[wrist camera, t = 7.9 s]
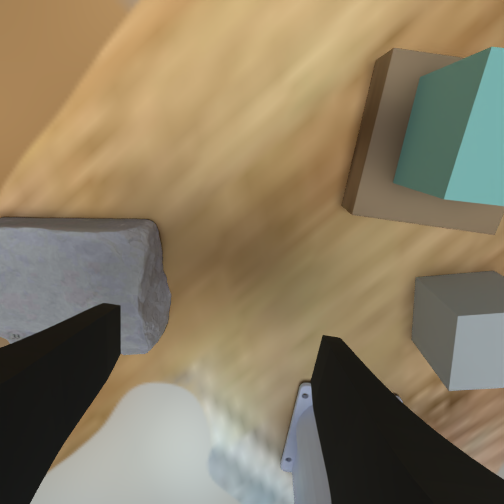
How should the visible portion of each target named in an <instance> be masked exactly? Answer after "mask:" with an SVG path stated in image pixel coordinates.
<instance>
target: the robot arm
mask: <svg viewBox="0 0 504 504" xmlns="http://www.w3.org/2000/svg"><path fill="white" fill-rule="evenodd" d="M120 354H121V305H115V304H109V303H102V304H99V305H97V306H94V307H92V308H90V309H88V310H85V311H83V312H81V313H79V314H77V315H75V316H73V317H71V318H68V319H66V320H64V321H62V322H60V323H58V324H56V325H53V326H51V327H49V328H47V329H45V330H42V331H40V332H38V333H35V334H33V335H31V336H28V337H26V338H24V339H21V340H19V341H16V342H14V343H12V344H9V345H7V346H4V347H1V348H0V504H30V502H31V501H32V499H33V497H34V495H35V493H36V491H37V489H38V488H39V486H40V484H41V482H42V480H43V479H44V477H45V475H46V473H47V471H48V470H49V468H50V466H51V464H52V463H53V461H54V459H55V457H56V455H57V454H58V452H59V451H60V449H61V447H62V446H63V444H64V443H65V441H66V440H67V438H68V437H69V435H70V434H71V432H72V431H73V429H74V428H75V426H76V425H77V423H78V422H79V421H80V419H81V418H82V416H83V415H84V413H85V412H86V410H87V409H88V407H89V406H90V405H91V403H92V402H93V400H94V399H95V397H96V396H97V394H98V393H99V391H100V390H101V388H102V387H103V385H104V384H105V382H106V381H107V379H108V377H109V376H110V374H111V372H112V370H113V368H114V366H115V364H116V362H117V360H118V358H119V356H120ZM304 393H306V395H303V394H304ZM281 469H282V470H283V471H286V472H292V477H293V490H294V503H295V504H504V479H502V478H501V477H499V476H498V475H496V474H494V473H493V472H491V471H490V470H488V469H487V468H486V467H484V466H483V465H481V464H480V463H478V462H477V461H475V460H474V459H472V458H471V457H470V456H468V455H467V454H466V453H464V452H463V451H461V450H460V449H459V448H457V447H456V446H455V445H453V444H452V443H451V442H449V441H448V440H446V439H445V438H444V437H443V436H441V435H440V434H439V433H437V432H436V431H435V430H434V429H432V428H431V427H430V426H429V425H428V424H426V423H425V422H424V421H423V420H422V419H421V418H419V417H418V416H417V415H416V414H415V413H413V412H412V411H411V410H410V409H409V408H408V407H407V406H405V405H404V404H403V402H402V400H401V398H400V397H399V396H395V395H394V394H393V393H392V392H391V391H390V390H389V389H388V388H387V387H386V386H385V385H384V384H383V383H382V382H381V381H380V380H379V379H378V378H377V377H376V376H375V375H374V374H373V373H372V372H371V371H370V370H369V369H368V368H367V367H366V366H365V364H364V363H363V362H362V361H361V360H360V359H359V358H358V357H357V356H356V355H355V353H354V352H353V351H352V350H351V349H350V348H349V347H348V346H347V345H346V344H345V342H344V341H343V340H342V339H341V338H338V337H331V336H325V335H323V336H322V340H321V344H320V348H319V352H318V355H317V359H316V363H315V367H314V371H313V374H312V378H311V383H302V384H301V385H300V387H299V391H298V395H297V399H296V403H295V407H294V411H293V415H292V419H291V423H290V427H289V431H288V435H287V439H286V443H285V447H284V451H283V455H282V459H281Z"/></svg>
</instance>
